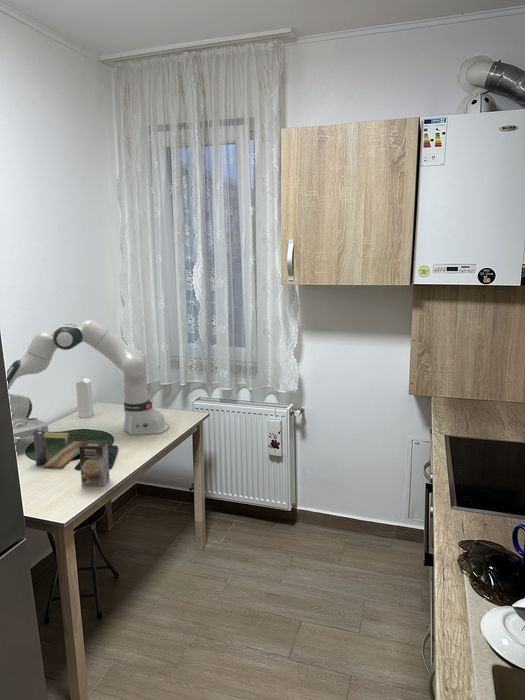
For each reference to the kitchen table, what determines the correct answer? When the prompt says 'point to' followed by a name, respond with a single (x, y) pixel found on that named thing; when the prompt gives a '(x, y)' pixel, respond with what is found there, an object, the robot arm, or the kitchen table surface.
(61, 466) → the board
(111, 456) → the dark slate chunk
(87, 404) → the milk
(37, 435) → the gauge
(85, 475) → the coffee box
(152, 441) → the kitchen table surface
